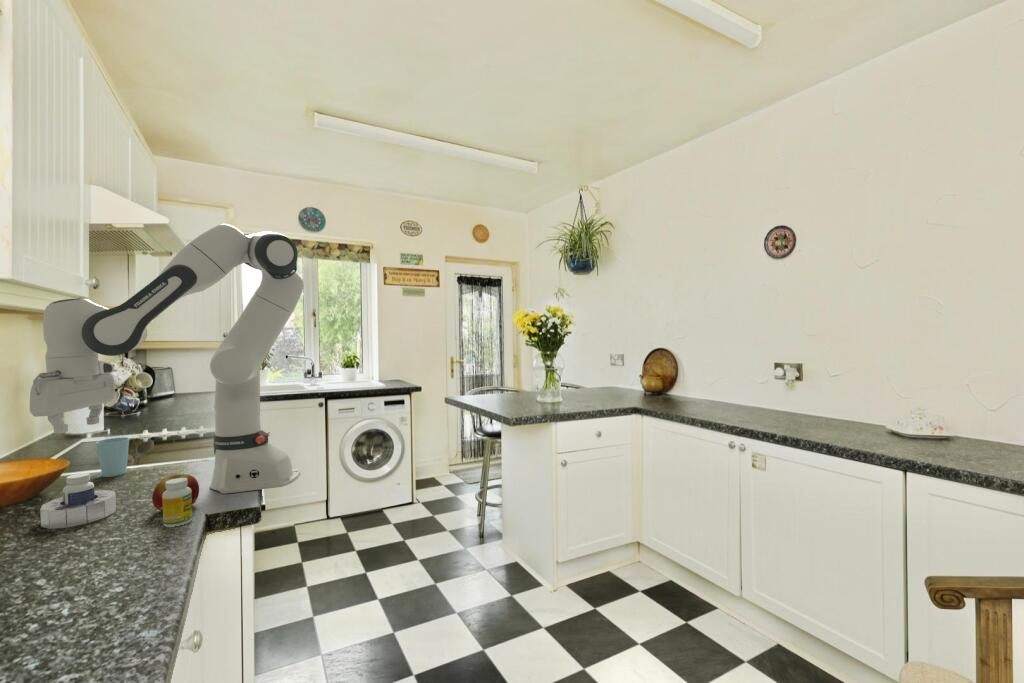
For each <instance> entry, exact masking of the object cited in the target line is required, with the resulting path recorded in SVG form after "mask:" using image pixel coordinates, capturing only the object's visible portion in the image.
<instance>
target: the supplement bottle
mask: <svg viewBox="0 0 1024 683" xmlns="http://www.w3.org/2000/svg"><path fill="white" fill-rule="evenodd" d="M187 484H188V480H187V478H176V479H172V480H169V481H167V482H166V483H165V488H166V489H167V490H166V491H165V492H164V493H163V495H162V504H163V511H162V519H163V520H162V521H163V522H162V525H163V526H164V527H165V528H176V527H175V526H177V527H181V526H180V525H182V526H185V525H187V524H188V523H191V522H192V520H193V517H194V516H193V504H192V491H191V488H189V487H186V486H187ZM184 524H185V525H184Z"/></svg>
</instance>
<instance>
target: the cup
mask: <svg viewBox="0 0 1024 683" xmlns="http://www.w3.org/2000/svg"><path fill="white" fill-rule="evenodd" d="M95 446H96V450H97V451H96V452H97V455H98V461H99V467H100V471H101V476H102V477H103V478H112V477H116V476H117V477H118V476H121V475H124V474H126V473H127V468H128V467H127V466H128V459H129V458H128V456H129V446H130V437H128V436H127V437H125V436H124V437H122V436H121V437H113V438H105V439H101V440H98V441H96V442H95Z"/></svg>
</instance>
